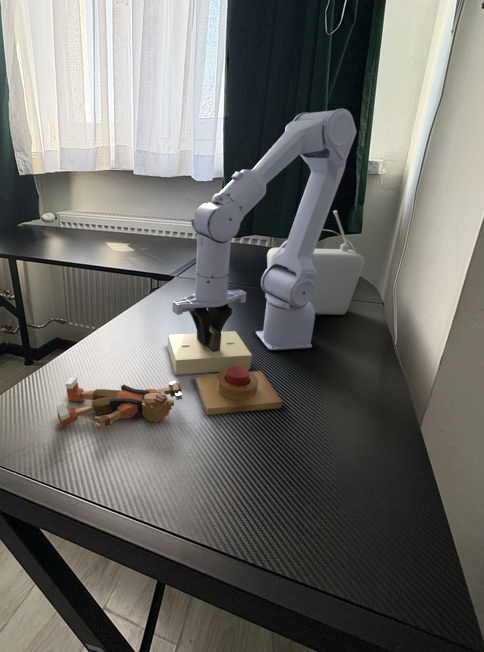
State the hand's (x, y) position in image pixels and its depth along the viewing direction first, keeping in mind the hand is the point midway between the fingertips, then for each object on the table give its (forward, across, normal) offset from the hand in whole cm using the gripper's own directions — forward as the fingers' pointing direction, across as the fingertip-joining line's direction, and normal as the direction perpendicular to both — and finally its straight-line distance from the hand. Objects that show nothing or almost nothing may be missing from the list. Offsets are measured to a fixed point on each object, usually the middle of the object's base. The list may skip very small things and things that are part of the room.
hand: (208, 342), depth 71 cm
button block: (+3, +2, +12) cm, 13 cm away
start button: (+1, +2, +12) cm, 12 cm away
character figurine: (+4, +20, +8) cm, 22 cm away
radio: (+4, -36, -10) cm, 38 cm away
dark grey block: (0, 0, 0) cm, 0 cm away
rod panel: (+3, 0, 0) cm, 3 cm away
